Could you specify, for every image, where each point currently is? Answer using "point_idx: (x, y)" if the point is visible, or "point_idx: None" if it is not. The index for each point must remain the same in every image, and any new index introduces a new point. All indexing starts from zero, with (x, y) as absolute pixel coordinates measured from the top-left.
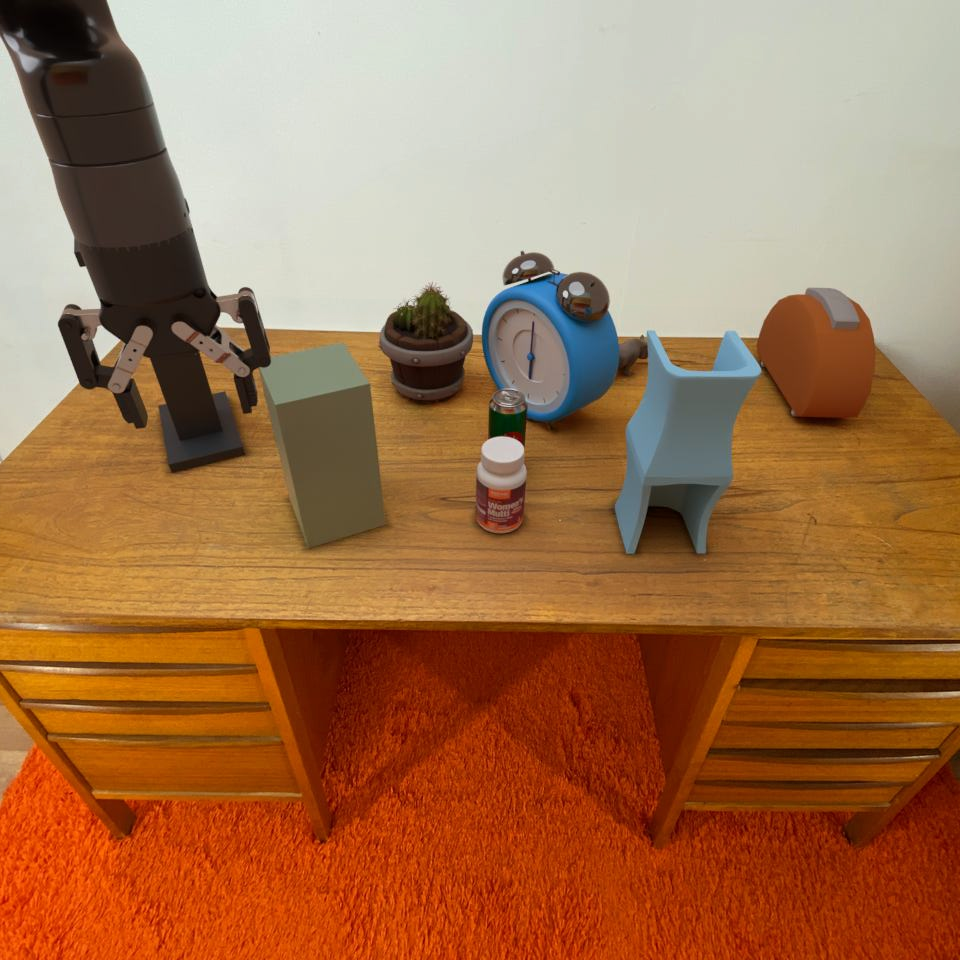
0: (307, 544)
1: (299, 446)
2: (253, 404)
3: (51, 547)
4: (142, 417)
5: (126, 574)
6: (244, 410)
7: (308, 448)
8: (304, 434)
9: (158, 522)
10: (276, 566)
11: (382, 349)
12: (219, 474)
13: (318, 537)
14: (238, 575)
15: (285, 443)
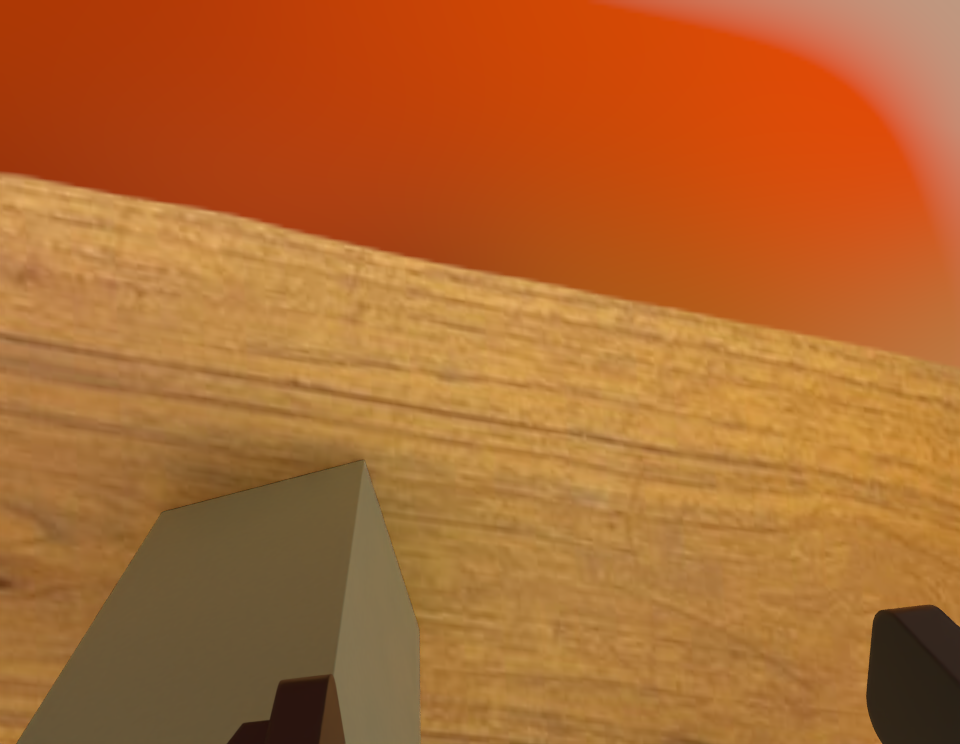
0: (362, 466)
1: None
2: (257, 732)
3: (950, 546)
4: (911, 665)
5: (786, 442)
6: (313, 687)
7: (258, 681)
8: None
9: (727, 591)
10: (441, 414)
11: None
12: (596, 728)
13: (331, 479)
14: (531, 399)
15: None
